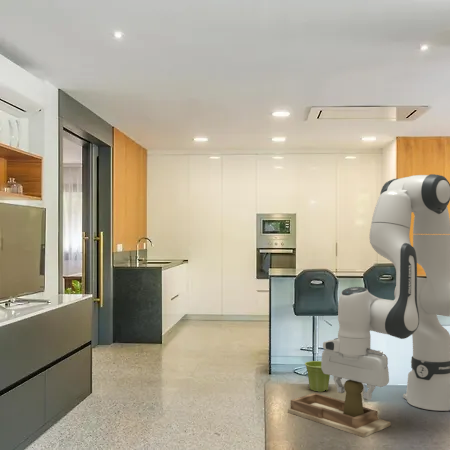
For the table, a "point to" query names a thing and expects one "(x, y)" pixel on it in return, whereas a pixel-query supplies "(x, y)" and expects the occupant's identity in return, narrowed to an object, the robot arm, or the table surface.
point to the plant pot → (317, 376)
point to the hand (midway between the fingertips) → (353, 396)
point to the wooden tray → (337, 414)
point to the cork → (353, 398)
